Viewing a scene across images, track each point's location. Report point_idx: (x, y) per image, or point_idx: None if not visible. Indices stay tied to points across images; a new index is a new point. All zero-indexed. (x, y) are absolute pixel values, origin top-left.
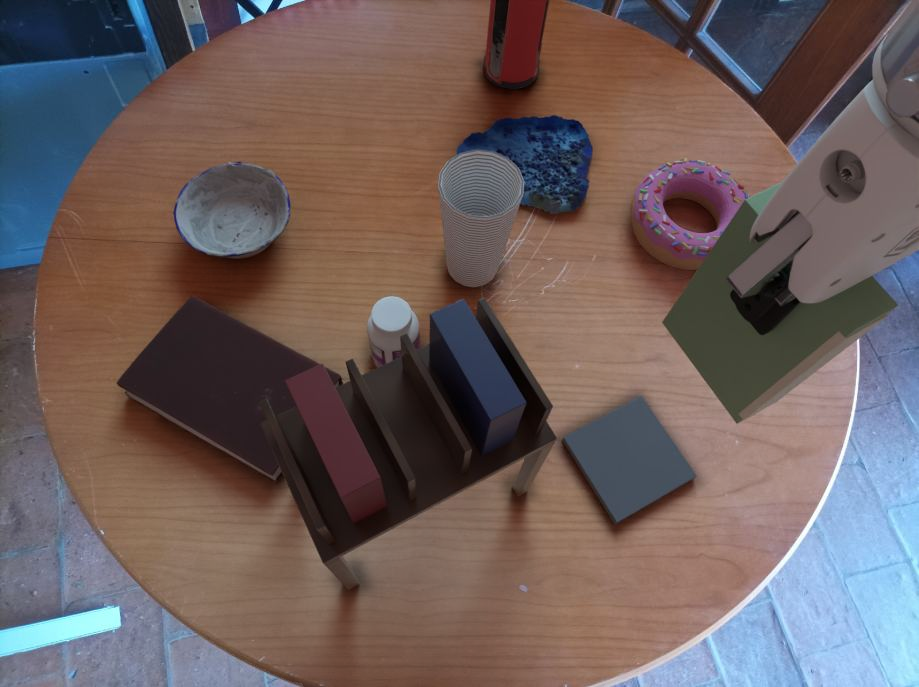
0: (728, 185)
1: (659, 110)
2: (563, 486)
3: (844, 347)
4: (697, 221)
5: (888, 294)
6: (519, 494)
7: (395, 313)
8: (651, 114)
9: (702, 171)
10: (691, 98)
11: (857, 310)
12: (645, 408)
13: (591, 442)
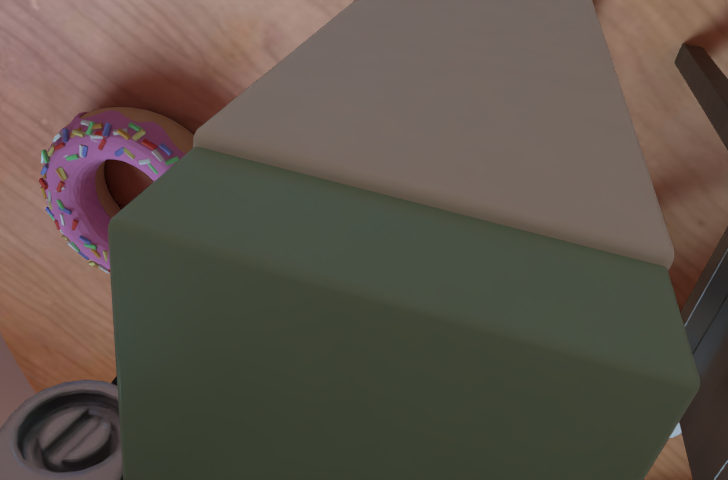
0: (59, 198)
1: (73, 315)
2: (630, 7)
3: (408, 37)
4: (128, 175)
5: (118, 332)
6: (706, 52)
7: None
8: (86, 318)
9: (81, 238)
10: (23, 298)
11: (488, 449)
12: None
13: None
